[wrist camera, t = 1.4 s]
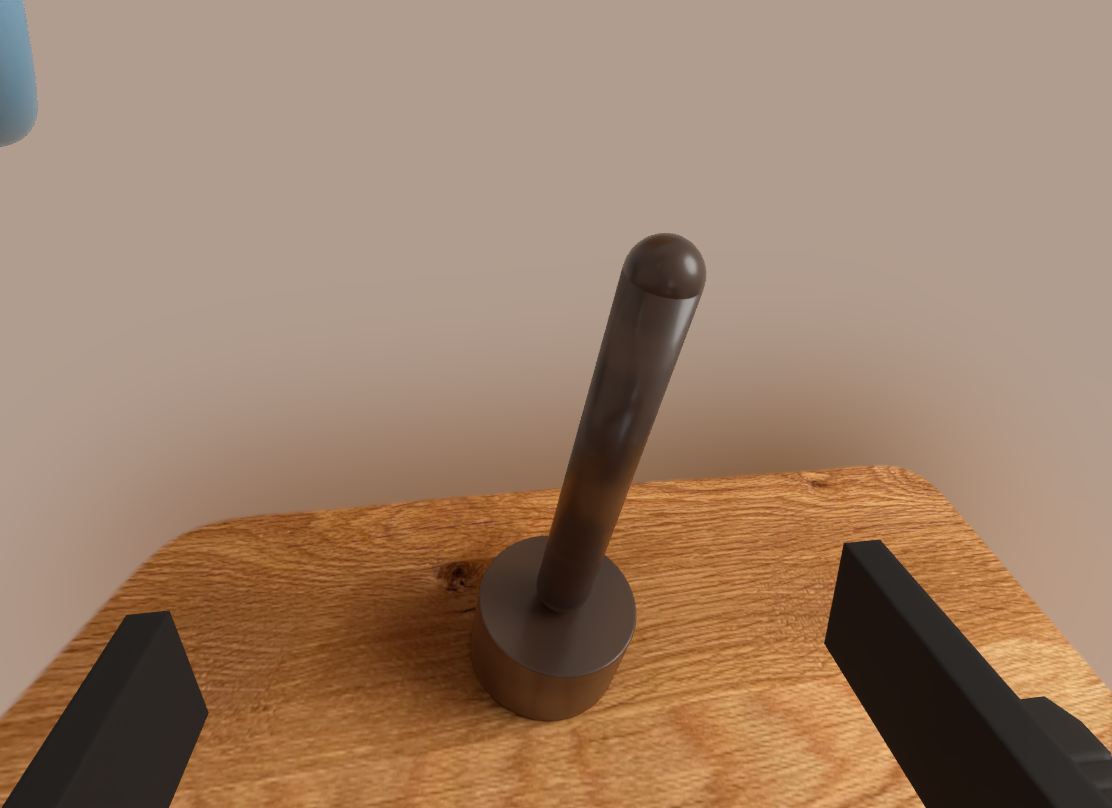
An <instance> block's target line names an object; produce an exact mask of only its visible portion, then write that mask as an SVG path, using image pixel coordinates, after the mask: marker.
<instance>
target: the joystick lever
mask: <svg viewBox="0 0 1112 808" xmlns="http://www.w3.org/2000/svg"><path fill="white" fill-rule="evenodd" d="M705 282H706V267H705V263H704V260H703V258H702V255H701V253H700V252H699V250H698V249H697V248H696V247H695V245H694V244H693V243H691V242H690V241H689V240H687V239H685V238H683V237H682V236H679V235H676V234H671V233H659V234H655V235H651V236H648V237H646V238H645V239H643V240H642V241H640V242H638V243H637V244H636V245H635V246H634V247H633V248H632V249H631V251H630V252H629V254H628V255H627V257H626V259H625V262H624V264H623V268H622V271H621V275H620V279H619V282H618V286H617V289H616V293H615V297H614V301H613V304H612V308H611V311H610V315H609V319H608V323H607V326H606V330H605V333H604V337H603V341H602V344H601V348H600V352H599V355H598V359H597V362H596V366H595V370H594V374H593V377H592V381H591V384H590V388H589V392H588V395H587V399H586V402H585V406H584V410H583V414H582V417H581V421H580V424H579V428H578V432H577V435H576V439H575V443H574V446H573V450H572V454H571V457H570V461H569V464H568V468H567V472H566V475H565V479H564V483H563V486H562V490H561V494H560V497H559V501H558V504H557V508H556V512H555V515H554V519H553V523H552V526H551V530H550V534H549V536H538V537H532V538H528V539H524V540H522V541H519V542H517V543H515V544H513V545H511V546H509V547H507V548H506V549H505V550H503V551H502V552H501V553H500V554H499V555H498V556H496V557H495V558H494V560H493V561H492V562H491V563H490V565H489V566H488V568H487V570H486V571H485V573H484V576H483V578H482V581H481V585H480V589H479V595H478V600H477V606H476V611H475V617H474V622H473V628H472V633H471V642H470V650H471V658H472V663H473V666H474V669H475V672H476V674H477V676H478V678H479V680H480V682H481V684H482V685H483V686H484V688H485V689H486V691H487V692H488V693H489V694H490V695H491V696H492V697H493V698H494V699H495V700H496V701H497V702H499V703H500V704H501V705H502V706H504V707H505V708H507V709H508V710H510V711H512V712H514V713H516V714H518V715H521V716H524V717H527V718H530V719H536V720H544V721H554V720H562V719H567V718H571V717H573V716H576V715H578V714H581V713H582V712H584V711H586V710H588V709H589V708H590V707H592V706H593V705H594V704H595V703H596V702H597V701H598V700H599V699H600V698H601V697H602V696H603V695H604V693H605V692H606V690H607V689H608V687H609V685H610V683H611V681H612V678H613V676H614V674H615V672H616V670H617V668H618V666H619V664H620V662H621V660H622V658H623V656H624V654H625V652H626V649H627V647H628V645H629V643H630V641H631V639H632V637H633V633H634V630H635V625H636V606H635V600H634V597H633V593H632V590H631V588H630V586H629V583H628V582H627V580H626V578H625V576H624V575H623V574H622V572H621V571H620V570H619V568H618V567H617V566H616V565H615V564H614V563H613V562H612V561H611V560H610V559H609V558H608V557H607V556H605V552H606V549H607V547H608V544H609V541H610V539H611V536H612V533H613V531H614V528H615V525H616V523H617V520H618V517H619V515H620V512H621V509H622V507H623V504H624V501H625V498H626V496H627V493H628V490H629V488H630V485H631V482H632V480H633V477H634V474H635V471H636V469H637V466H638V464H639V461H640V458H641V456H642V453H643V450H644V447H645V445H646V442H647V439H648V437H649V434H650V431H651V429H652V426H653V423H654V421H655V418H656V415H657V413H658V410H659V407H660V405H661V402H662V399H663V397H664V394H665V391H666V389H667V386H668V383H669V381H670V378H671V375H672V372H673V370H674V367H675V364H676V362H677V359H678V356H679V354H680V351H681V348H682V346H683V343H684V340H685V338H686V335H687V332H688V330H689V327H690V324H691V321H692V318H693V316H694V314H695V311H696V308H697V305H698V303H699V300H700V297H701V295H702V292H703V289H704V286H705Z"/></svg>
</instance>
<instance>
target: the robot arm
mask: <svg viewBox="0 0 1112 808" xmlns="http://www.w3.org/2000/svg"><path fill="white" fill-rule="evenodd" d="M37 111H38V101H37V88H36V78H35V71H34V64H33V57H32V50H31V44H30V38H29V32H28V25H27V20H26V14H25V8H24V3H23V0H0V147H3V146H7V145H10V144H13V143H16V142H17V141H19V140H21V139H23V138H24V137H25V136H26V135H27V134H28V133H29V132H30V131H31V129H32V127H33V126H34V124H35V121H36V117H37ZM824 644H825V645H826V647H827V649H828V650H829V652H830V654H831V655H832V657H833V658H834V660H835V662H836V663H837V665H838V667H839V668H840V670H841V671H842V673H843V675H844V676H845V678H846V679H847V681H848V683H849V684H850V686H851V688H852V689H853V691H854V692H855V694H856V696H857V697H858V699H859V700H860V702H861V704H862V705H863V707H864V709H865V710H866V712H867V713H868V715H869V717H870V718H871V720H872V722H873V723H874V725H875V726H876V728H877V730H878V731H879V733H880V734H881V736H882V738H883V739H884V741H885V743H886V744H887V746H888V747H889V749H890V751H891V752H892V754H893V755H894V757H895V759H896V760H897V762H898V764H899V765H900V767H901V768H902V770H903V772H904V773H905V775H906V777H907V778H908V780H909V781H910V783H911V785H912V786H913V788H914V789H915V791H916V793H917V794H918V796H919V798H920V799H921V801H922V802H923V804H924V806H925V807H926V808H1112V756H1111V753H1110V751H1109V750H1108V749H1107V748H1106V747H1105V746H1104V745H1103V744H1102V743H1101V742H1100V741H1099V740H1098V739H1097V738H1096V737H1095V736H1094V735H1093V733H1092V732H1091V731H1090V730H1089V729H1088V728H1087V727H1086V726H1085V725H1084V724H1083V723H1082V722H1081V721H1080V720H1078V719H1077V718H1075V717H1074V716H1072V715H1071V714H1069V713H1068V712H1067V711H1065V710H1064V709H1062V708H1061V707H1059V706H1058V705H1056V704H1055V703H1053V702H1052V701H1051V700H1049V699H1048V698H1046V697H1045V696H1044V697H1035V698H1027V699H1019V698H1018V696H1017V695H1016V694H1015V693H1014V692H1013V691H1012V690H1011V688H1010V687H1009V686H1008V685H1007V684H1006V683H1005V682H1004V680H1003V679H1002V678H1001V677H1000V676H999V675H998V674H997V673H996V671H995V670H994V669H993V668H992V667H991V666H990V665H989V663H988V662H987V661H986V660H985V659H984V658H983V657H982V655H981V654H980V653H979V652H978V651H977V650H976V649H975V647H974V646H973V645H972V644H971V643H970V642H969V641H968V639H967V638H966V637H965V636H964V635H963V634H962V633H961V631H960V630H959V629H958V628H957V627H956V626H955V625H954V624H953V622H952V621H951V620H950V619H949V618H948V617H947V616H946V614H945V613H944V612H943V611H942V610H941V609H940V608H939V606H938V605H937V604H936V603H935V602H934V601H933V600H932V598H931V597H930V596H929V595H928V594H927V593H926V592H925V590H924V589H923V588H922V587H921V586H920V585H919V584H918V582H917V581H916V580H915V579H914V578H913V577H912V576H911V574H910V573H909V572H908V571H907V570H906V569H905V568H904V567H903V565H902V564H901V563H900V562H899V561H898V560H897V559H896V557H895V556H894V555H893V554H892V553H891V552H890V551H889V549H888V548H887V547H886V546H885V545H884V544H883V543H882V541H881V540H871V541H861V542H851V543H844V545H843V550H842V555H841V560H840V566H839V571H838V576H837V581H836V586H835V591H834V596H833V601H832V607H831V612H830V617H829V622H828V627H827V632H826V637H825V642H824ZM207 716H208V710H207V708H206V705H205V702H204V700H203V697H202V694H201V692H200V689H199V687H198V684H197V681H196V679H195V676H194V674H193V671H192V668H191V666H190V663H189V660H188V658H187V655H186V653H185V650H184V647H183V645H182V642H181V640H180V637H179V634H178V632H177V629H176V626H175V624H174V621H173V619H172V616H171V613H170V611H161V612H151V613H141V614H132V615H126V616H125V618H124V620H123V621H122V623H121V624H120V626H119V627H118V629H117V630H116V632H115V633H114V635H113V637H112V638H111V640H110V641H109V643H108V644H107V646H106V647H105V649H104V650H103V652H102V654H101V655H100V657H99V658H98V660H97V661H96V663H95V664H94V666H93V667H92V669H91V671H90V672H89V674H88V675H87V677H86V678H85V680H84V681H83V683H82V684H81V686H80V687H79V689H78V691H77V692H76V694H75V695H74V697H73V698H72V700H71V701H70V703H69V704H68V706H67V708H66V709H65V711H64V712H63V714H62V715H61V717H60V718H59V720H58V721H57V723H56V725H55V726H54V728H53V729H52V731H51V732H50V734H49V735H48V737H47V738H46V740H45V742H44V743H43V745H42V746H41V748H40V749H39V751H38V752H37V754H36V755H35V757H34V758H33V760H32V762H31V763H30V765H29V766H28V768H27V769H26V771H25V772H24V774H23V775H22V777H21V779H20V780H19V782H18V783H17V785H16V786H15V788H14V789H13V791H12V792H11V794H10V796H9V797H8V799H7V800H6V802H5V803H4V805H3V806H2V808H169V806H170V804H171V801H172V799H173V797H174V794H175V792H176V790H177V787H178V785H179V782H180V780H181V778H182V775H183V773H184V770H185V768H186V766H187V763H188V761H189V758H190V756H191V754H192V751H193V749H194V747H195V744H196V742H197V739H198V737H199V735H200V732H201V730H202V727H203V725H204V723H205V720H206V718H207Z"/></svg>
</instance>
